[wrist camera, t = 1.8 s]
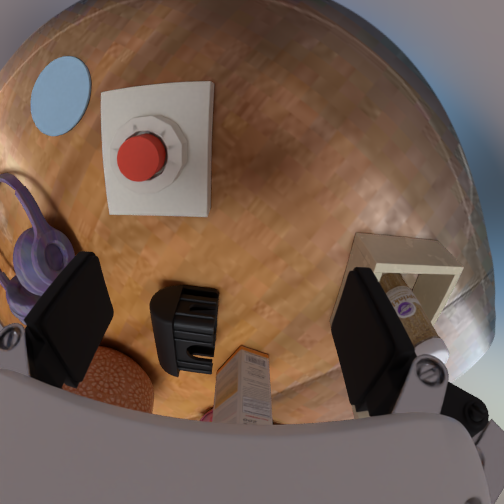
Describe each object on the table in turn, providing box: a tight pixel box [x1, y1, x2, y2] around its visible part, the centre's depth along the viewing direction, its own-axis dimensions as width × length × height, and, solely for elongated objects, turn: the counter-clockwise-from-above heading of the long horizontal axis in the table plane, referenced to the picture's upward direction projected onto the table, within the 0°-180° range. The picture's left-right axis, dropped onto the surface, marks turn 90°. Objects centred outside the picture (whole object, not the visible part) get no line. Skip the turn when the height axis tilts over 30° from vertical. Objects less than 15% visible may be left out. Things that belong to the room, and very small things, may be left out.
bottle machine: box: [329, 233, 464, 419], centre depth 24 cm, size 13×12×16 cm
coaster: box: [31, 56, 91, 136], centre depth 19 cm, size 9×9×1 cm
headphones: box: [0, 173, 75, 325], centre depth 24 cm, size 18×8×20 cm
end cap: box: [150, 285, 219, 377], centre depth 30 cm, size 10×7×7 cm
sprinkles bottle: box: [379, 273, 449, 365], centre depth 25 cm, size 5×5×14 cm
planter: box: [62, 346, 154, 414], centre depth 34 cm, size 17×17×15 cm
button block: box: [101, 81, 214, 217], centre depth 21 cm, size 12×10×4 cm
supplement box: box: [212, 346, 273, 425], centre depth 33 cm, size 8×5×13 cm, turn 149°
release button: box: [117, 134, 166, 182], centre depth 19 cm, size 4×4×2 cm
